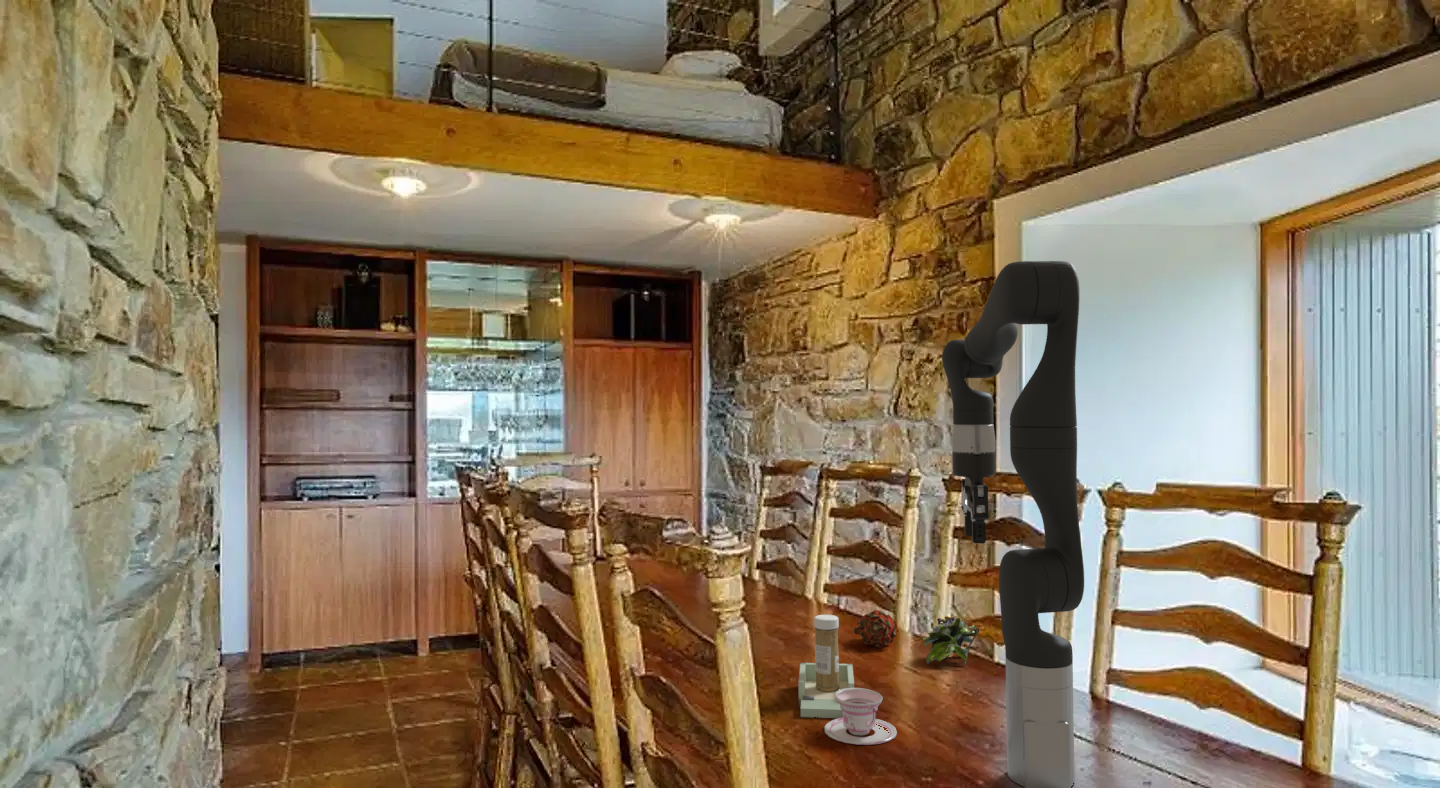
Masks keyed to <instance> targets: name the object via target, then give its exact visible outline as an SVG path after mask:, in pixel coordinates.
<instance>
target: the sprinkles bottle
mask: <svg viewBox="0 0 1440 788" xmlns="http://www.w3.org/2000/svg"><path fill="white" fill-rule="evenodd" d="M813 619H814V620H813V627H814V632H815V634H814V635H815V636H814V638H815V639H814V654H815V655H814V657H815V659H814V660H815V662H814V663H815V668H816V688H817V689H818V690H820V691H825V692H831V691H836V690H838V689H839V687H840V686H839V664H840V663H839V662H840V661H839V660H840V659H839V657H840V656H839V642H838V641H839V638H838V636H839V634H838V633H839V631H838V630H839V626H840V625H839V624H840V623H839V622H840V621H839V620H840V619H839V617H838V616H837V615H834V614H819V615H815V616H814V618H813Z"/></svg>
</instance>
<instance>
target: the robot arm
mask: <svg viewBox="0 0 1440 788" xmlns="http://www.w3.org/2000/svg"><path fill="white" fill-rule="evenodd" d="M1079 315H1080V281H1079V276H1078V272H1077V269H1076V268H1075V265H1073V264H1072V263H1071V262H1070V261H1066V260H1065V261H1064V260H1041V261H1040V260H1039V261H1037V260H1032V261H1031V260H1029V261H1027V260H1025V261H1023V260H1022V261H1013V262H1010V263H1008V264H1007V265H1004V266H1003V268H1002V269H1001V270H1000V272H999V273H998V275H997V277H996V279H995V280H994V283H993V285H992V287H991V290H990V293H989V295H988V298H987V300H986V302H985V306H984V308H983V311H982V313H981V316H980V318H979V319H978V321H976V323H975V324H974V326H972V328H971V329H970V330H969V331H968V333H967V334H966V337H965V339H952V340H950V341H948V342H947V343H946V345H944V348H943V350H942V354H941V363H942V367H943V370H944V373H945V376H946V380H947V382H948V385H949V389H950V395H951V400H952V423H953V425H952V426H953V427H952V436H951V444H952V445H951V446H952V448H951V451H952V453H951V455H952V456H951V458H952V459H951V460H952V461H951V463H952V475H953V476H955V477H960V478H961V477H962V478H961V481H960V483H961V490H960V491H961V506H960V507H961V511H962V514H963V515H964V534H965V535H966V536H967V537H971V541H972V543H974V544H980V545H981V544H986V541H987V540H986V539H987V535H986V534H987V533H986V529H987V527H986V523H987V521H988V520H989V519H990V514H989V513H990V511H989V486H988V484H984V478H989V477H994V476H996V473H997V472H996V471H997V467H996V465H997V464H996V460H997V459H996V435H995V434H996V433H995V427H994V426H995V425H994V398H993V396H992V394H991V393H989V392H987V391H986V392H985V391H982V390H977V389H973V388H971V387H970V386H969V385H968V383H967V381H966V379H989V378H992V377H995V376H998V375H999V373H1000V372H1001V370H1002V367H1003V363H1004V362H1003V360H1004V359H1003V358H1004V357H1005V355H1006V354H1007V353H1008V352H1009V351H1010V350H1011V349H1012V348H1013V346H1015V343H1016V341H1017V339H1018V334H1019V333H1018V332H1019V330H1018V326H1017V325H1046V326H1047V329H1046V340H1045V344H1044V349H1043V352H1042V356H1041V358H1040V360H1039V363H1038V364H1037V367H1036V369H1035V370H1034V372H1033V374H1032V375H1031V377H1030V378H1029V380H1028V381H1027V382H1026V384H1025V385H1024V387H1023V389H1022V390H1021V392H1020V393H1019V395H1018V396H1017V399H1016V400H1015V401H1014V404H1013V406H1012V409H1011V412H1010V415H1009V451H1010V459H1011V463H1012V465H1013V467H1014V469H1015V471H1016V474H1017V475H1018V476H1019V478H1020V480H1021V482H1022V483H1023V484H1024V486H1025V488H1026V490H1027V491H1028V492H1029V494H1030V495H1031V497H1032V499H1033V501H1034V502H1035V504H1036V506H1037V508H1038V510H1039V512H1040V515H1041V519H1042V523H1043V529H1044V531H1043V532H1044V548H1043V547H1042V548H1023V549H1022V548H1020V549H1019V548H1018V549H1013V550H1009V551H1007V552H1005V554H1004V555H1003V556H1002V558H1001V560H1000V564H999V568H998V569H999V570H998V591H999V601H1000V602H999V603H1000V617H1001V618H1000V619H1001V621H1000V622H1001V632H1002V633H1001V634H1002V638H1003V643H1004V648H1005V649H1004V650H1005V654H1004V655H1005V708H1006V711H1005V714H1006V716H1005V717H1006V719H1005V720H1006V721H1005V722H1006V758H1007V759H1006V760H1007V761H1006V763H1007V764H1006V765H1007V767H1006V768H1007V776H1008V778H1009V779H1010V780H1011V781H1013V782H1014V783H1015V784H1018V785H1020V786H1022V787H1023V788H1072V787H1071V785H1072V784H1073V783H1074V782H1075V779H1076V777H1075V775H1076V774H1075V738H1074V737H1075V733H1074V732H1075V731H1074V730H1075V728H1074V727H1075V725H1074V724H1075V723H1074V722H1075V721H1074V720H1075V719H1074V670H1073V669H1074V668H1073V663H1074V661H1073V660H1074V659H1073V658H1074V657H1073V655H1074V654H1073V652H1074V651H1073V646H1072V643H1070V641H1069V640H1068V639H1066V638H1064V637H1063V636H1061V635H1057V634H1054V633H1051V632H1048V631H1045V630H1043V629H1042V628H1041V625H1040V620H1039V614H1049V613H1051V614H1052V613H1063V612H1070V611H1074V610H1075V609H1077V608H1078V607H1079V606H1080V604H1081V602H1082V600H1083V597H1084V593H1085V592H1084V591H1085V568H1084V567H1085V566H1084V559H1083V558H1084V556H1083V548H1082V539H1081V529H1080V523H1079V519H1080V518H1079V510H1078V509H1079V508H1078V506H1079V505H1078V473H1077V472H1078V471H1077V467H1078V466H1077V465H1078V427H1077V426H1078V422H1077V403H1076V402H1077V399H1076V397H1077V396H1076V358H1077V343H1078V342H1077V341H1078V327H1079ZM1074 784H1075V783H1074Z"/></svg>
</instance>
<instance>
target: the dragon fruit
mask: <svg viewBox="0 0 1440 788" xmlns="http://www.w3.org/2000/svg"><path fill="white" fill-rule="evenodd" d="M856 625H858V627H856V626H855V627H854V628H853V633H854V634H855V635H858V636H859V635H860V637H861V641H862V642H863V643H864V644H865V645H866V646H871V645H872V646H874V647H875V648H879V649H881V648H883V647H884V646H885V645H889V644H892V643H893V642H894V640H895V638H896V637H897V631H896V626H895V619H893V618H892V616H891V615H890V614H886V613H885V612H884V611H882V610H879V609H874V610H873V611H871V612H869V613H865V614H864V615H863V616H862V617H860V621H858V622H857V624H856Z"/></svg>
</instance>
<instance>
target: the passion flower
mask: <svg viewBox="0 0 1440 788" xmlns="http://www.w3.org/2000/svg"><path fill="white" fill-rule="evenodd" d="M936 620H937V625H935V627H932V630H929V632H927V635H928V637H923V638H922V640H923V642H924V644H923V647H924V648H925V647H926V646H928V644H931V646H930V647H929V652H928V653H927V654H926V657H925V662H926V663H927V665H929V664H930V663H932V662H933V661H937V662H941V661H943V660H944V659H946V658H947V657H949V656H950V655H951V654H955V653H956V655H958V657H960V658H961V659H962V660H963V668H965V666H966V663H967V661H968V654H969V652H970V648H971V646H972V644H973V642H974V641H975V639H976V637H977V636H978V634H979V633H980V628H979V626H976V625H975V624H973V625H971V626H969V625H968V622H966V621H965V620H963V619H962V620H961V617H960V616H958V617H954V616H951V617H950V616H944V617H943V618H940V617H937V619H936ZM972 636H973V638H971V637H972ZM963 642H965V643H969V644H968V646H967V647H966V648H962V645H963Z"/></svg>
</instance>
